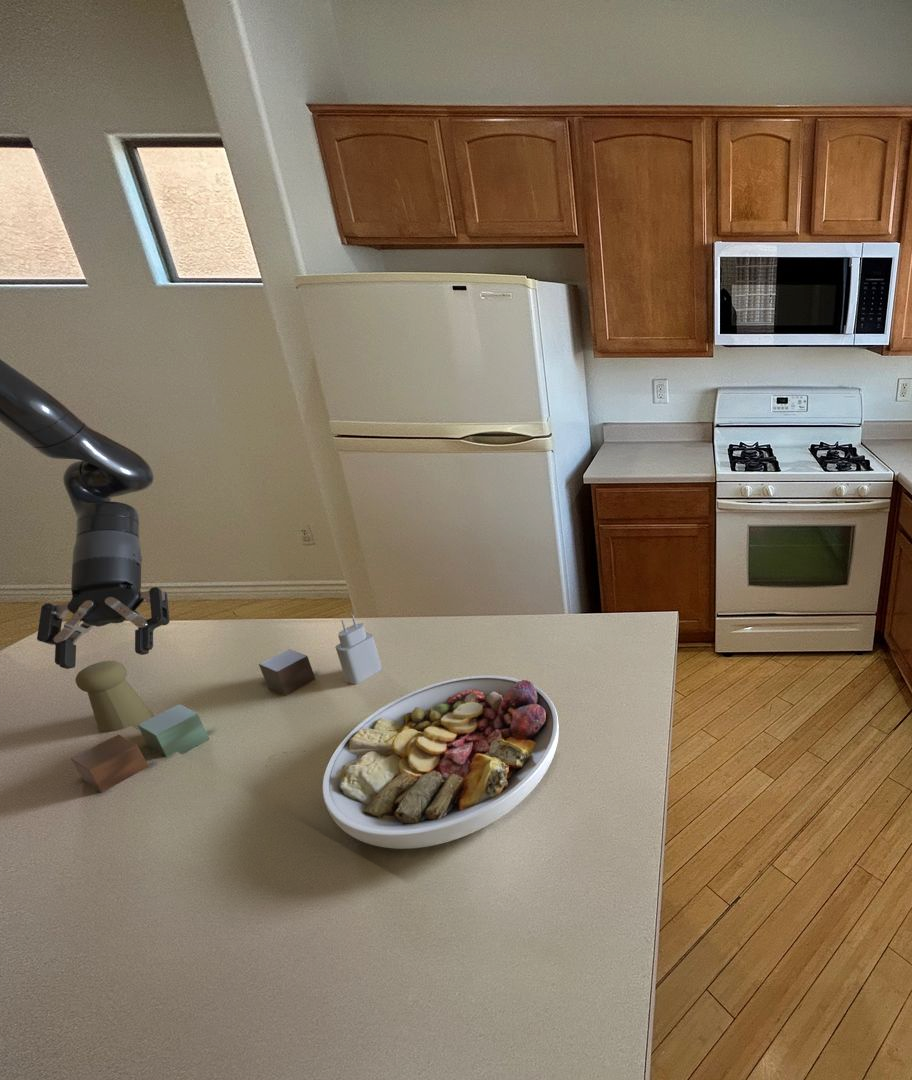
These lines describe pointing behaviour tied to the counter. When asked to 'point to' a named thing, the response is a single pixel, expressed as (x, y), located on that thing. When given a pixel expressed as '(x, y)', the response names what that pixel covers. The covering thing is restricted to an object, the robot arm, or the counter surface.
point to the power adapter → (357, 653)
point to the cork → (112, 696)
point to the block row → (177, 728)
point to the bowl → (441, 761)
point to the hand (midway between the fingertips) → (105, 660)
